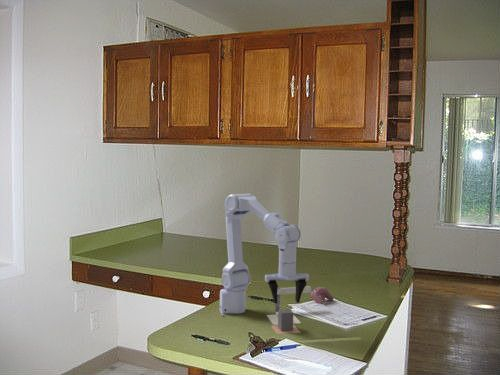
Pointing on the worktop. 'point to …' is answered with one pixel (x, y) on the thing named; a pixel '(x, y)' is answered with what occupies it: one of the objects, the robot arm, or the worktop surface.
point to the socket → (275, 317)
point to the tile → (285, 331)
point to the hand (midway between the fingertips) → (286, 302)
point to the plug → (285, 320)
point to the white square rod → (292, 290)
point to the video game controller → (321, 295)
